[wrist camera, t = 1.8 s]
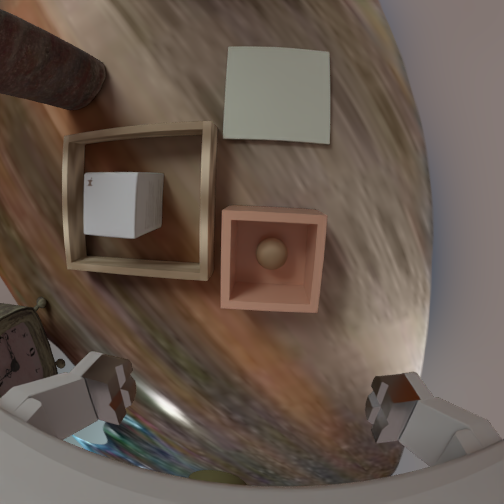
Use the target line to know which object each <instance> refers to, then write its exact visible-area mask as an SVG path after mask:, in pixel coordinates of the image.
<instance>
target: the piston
mask: <svg viewBox="0 0 504 504" xmlns="http://www.w3.org/2000/svg"><path fill="white" fill-rule="evenodd" d="M189 478H190V479H196V480H202V481H209V482H217V483H225V484H235V485H246V484H245V482H244V481H243V480H242V479H240V478H239V477H237V476H235V475H232V474H229V473H226V472H221V471H214V470H202V471H197V472H194V473H192V474H191V475H190V476H189Z"/></svg>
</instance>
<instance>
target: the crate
mask: <svg viewBox="0 0 504 504" xmlns="http://www.w3.org/2000/svg"><path fill="white" fill-rule="evenodd" d="M217 131H218V127H217V126H216V125H215V124H214V123H213V122H212V121H192V122H172V123H158V124H146V125H136V126H127V127H118V128H111V129H104V130H97V131H90V132H84V133H79V134H73V135H68V136H64V145H63V166H62V207H63V228H64V242H65V253H66V262H67V269H74V270H83V271H93V272H103V273H114V274H124V275H136V276H147V277H160V278H173V279H186V280H200V281H208V280H209V278H210V276H211V275H212V273H213V271H214V215H215V179H216V152H217ZM182 135H202V156H201V185H200V263H191V262H174V261H158V260H143V259H128V258H113V257H99V256H87V253H86V241H85V234H84V152H85V144H91V143H98V142H106V141H115V140H125V139H135V138H147V137H162V136H182Z"/></svg>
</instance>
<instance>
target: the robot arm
mask: <svg viewBox="0 0 504 504" xmlns="http://www.w3.org/2000/svg"><path fill="white" fill-rule="evenodd" d="M132 371H133V368H132V363H131V361H130V360H128V359H124V358H119V357H115V356H111V355H107V354H103V353H99V352H94V351H92V352H89V353H88V354H87V355H86V356H85V357H84V358H83V359H82V360H81V361H80V362H79V363H78V364H77V365H76V366H75V367H74V368H73V369H72V370H71V371H70V372H69V373H67V372H64V373H61V374H57V375H54V376H50V377H47V378H44V379H40V380H37V381H33V382H30V383H26V384H22V385H19V386H15V387H12V388H11V389H10V390H9V391H8V392H7V393H6V394H5V395H3V396H2V397H1V398H0V504H504V439H502V438H501V437H500V435H499V434H498V433H497V431H496V430H495V429H494V427H493V426H492V425H491V423H490V422H489V421H488V420H486V419H484V418H482V417H479V416H477V415H475V414H473V413H471V412H469V411H467V410H464V409H462V408H460V407H458V406H456V405H454V404H452V403H449V402H447V401H445V400H443V399H441V398H439V397H436V398H434V396H433V395H432V394H431V392H430V391H429V389H428V388H427V387H426V385H425V384H424V382H423V381H422V379H421V378H420V377H419V375H418V374H417V373H415V372H409V373H402V374H396V375H385V376H375V378H374V379H373V382H372V385H371V387H372V389H373V392H372V393H371V394H370V395H369V396H368V398H367V401H366V408H365V412H366V417H367V420H368V422H370V423H371V424H373V427H372V429H371V431H372V434H373V436H374V439H375V442H376V443H383V442H391V441H398V440H399V442H400V443H401V444H402V445H404V446H405V447H406V448H407V449H409V450H410V451H411V452H412V453H414V454H415V455H416V456H417V457H419V458H420V459H421V460H422V461H424V462H425V463H426V464H427V465H429V466H430V467H428V468H424V469H420V470H416V471H412V472H408V473H404V474H399V475H394V476H390V477H384V478H379V479H373V480H367V481H360V482H352V483H344V484H334V485H321V486H299V487H270V486H248V485H235V484H225V483H217V482H209V481H202V480H196V479H190V478H184V477H179V476H174V475H169V474H164V473H160V472H156V471H151V470H147V469H144V468H140V467H136V466H133V465H129V464H126V463H123V462H119V461H116V460H113V459H110V458H107V457H104V456H101V455H98V454H96V453H93V452H90V451H88V450H85V449H83V448H80V447H77V446H75V445H73V444H70V443H68V442H66V441H63V439H65V438H67V437H69V436H71V435H73V434H74V433H76V432H78V431H80V430H82V429H83V428H85V427H87V426H89V425H90V424H92V423H94V422H96V421H97V420H98V419H99V420H103V421H106V422H109V423H113V424H117V425H120V423H121V421H122V420H123V418H124V416H125V415H126V409H125V408H126V407H128V406H130V405H132V403H133V401H134V399H135V395H136V383H135V380H134V379H133V377H132V376H131V375H130V374H131V373H132Z"/></svg>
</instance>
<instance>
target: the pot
mask: <svg viewBox="0 0 504 504" xmlns="http://www.w3.org/2000/svg"><path fill="white" fill-rule="evenodd" d="M326 227H327V215H325V214H323V213H322V212H320V211H318V210H316V209H302V208H286V207H266V206H244V205H230V206H228V207H227V208H225V209H223V210H222V231H221V308H227V309H243V310H260V311H281V312H309V313H317V311H318V304H319V296H320V288H321V279H322V270H323V260H324V250H325V239H326ZM267 238H277V239H279V240H281V241H282V242H283V243H284V244H285V246H286V248H287V251H288V256H287V260H286V262H285V263H284V265H283V266H281V267H280V268H278V269H275V270H269V269H265V268H263V267H262V266H261V265H260V264H259V263H258V261H257V259H256V249H257V246H258V245H259V243H260V242H261V241H263V240H264V239H267Z"/></svg>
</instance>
